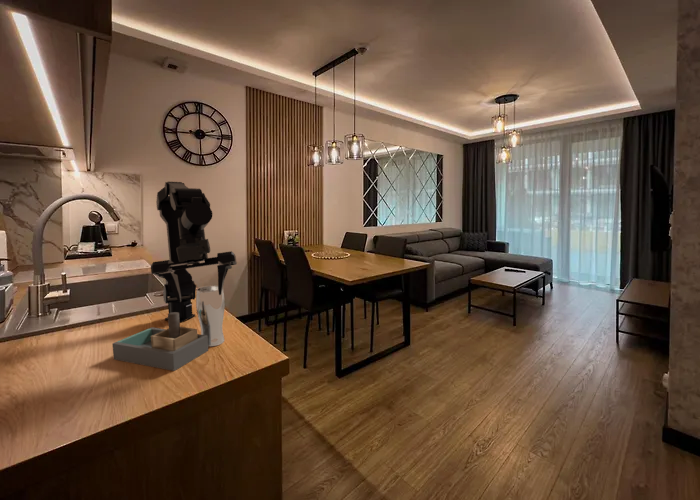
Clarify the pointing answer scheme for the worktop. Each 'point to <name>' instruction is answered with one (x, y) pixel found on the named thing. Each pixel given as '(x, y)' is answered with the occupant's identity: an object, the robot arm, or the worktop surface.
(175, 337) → the crate
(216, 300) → the beer glass
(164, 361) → the bay
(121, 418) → the worktop surface
